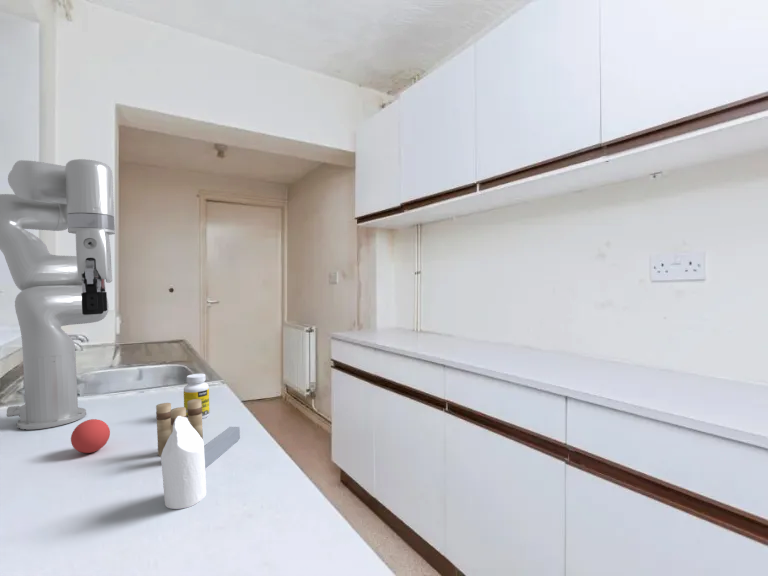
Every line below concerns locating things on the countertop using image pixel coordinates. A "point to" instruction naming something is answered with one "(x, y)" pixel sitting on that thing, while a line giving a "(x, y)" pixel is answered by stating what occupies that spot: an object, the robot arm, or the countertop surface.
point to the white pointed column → (183, 466)
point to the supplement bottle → (197, 392)
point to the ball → (90, 436)
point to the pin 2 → (195, 415)
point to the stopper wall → (220, 444)
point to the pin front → (163, 425)
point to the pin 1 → (177, 414)
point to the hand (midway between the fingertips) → (95, 312)
